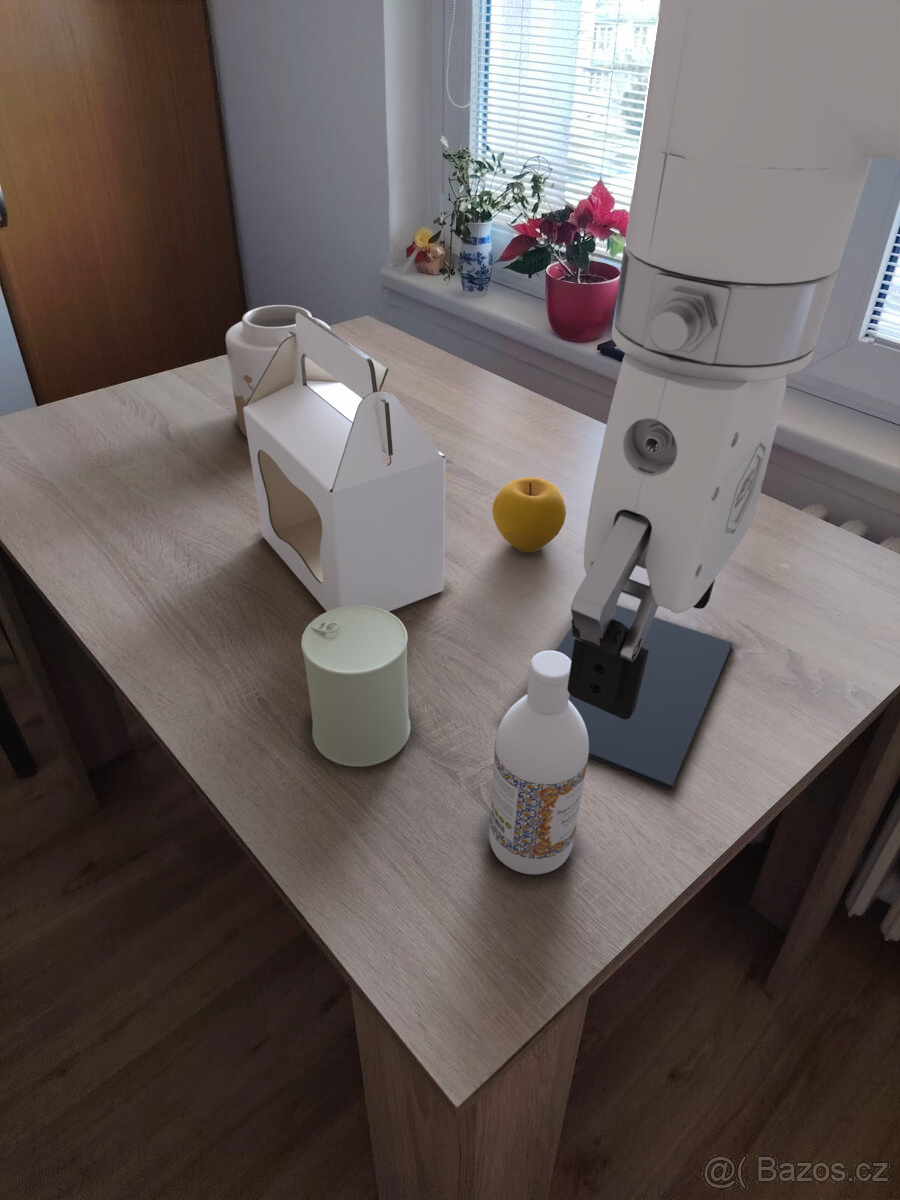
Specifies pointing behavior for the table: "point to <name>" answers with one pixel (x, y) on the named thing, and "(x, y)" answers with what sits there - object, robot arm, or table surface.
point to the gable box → (345, 475)
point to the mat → (657, 702)
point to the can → (357, 684)
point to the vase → (257, 348)
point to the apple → (529, 513)
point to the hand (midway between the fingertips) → (641, 646)
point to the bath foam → (539, 772)
